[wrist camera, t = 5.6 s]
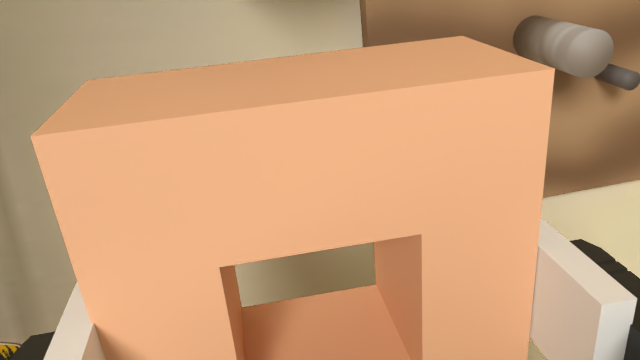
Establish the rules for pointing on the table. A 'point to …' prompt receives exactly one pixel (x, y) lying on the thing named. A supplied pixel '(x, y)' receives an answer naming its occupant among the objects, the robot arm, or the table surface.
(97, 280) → the salmon block with slots
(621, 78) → the post board
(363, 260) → the table surface
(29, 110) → the table surface
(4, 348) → the medicine bottle
